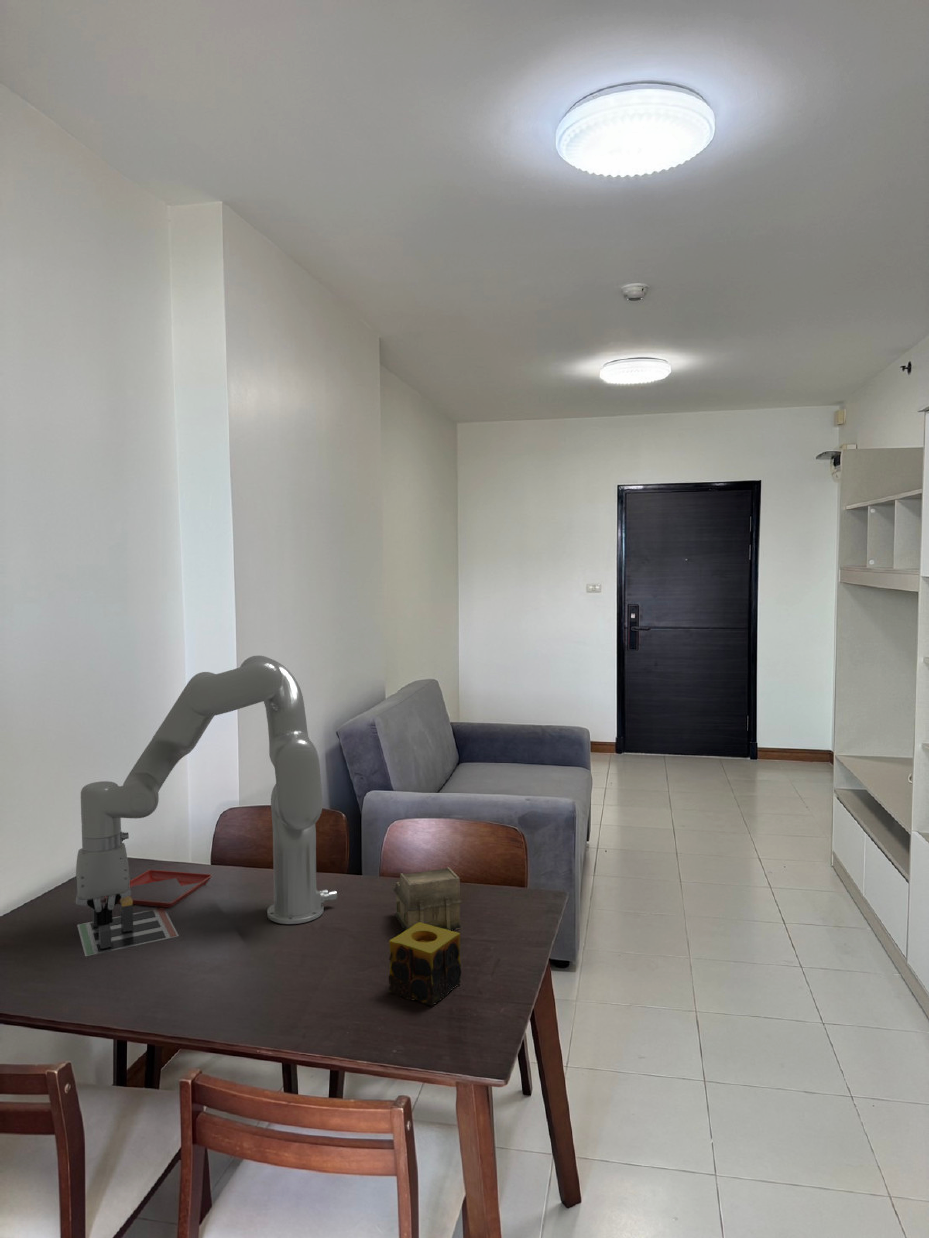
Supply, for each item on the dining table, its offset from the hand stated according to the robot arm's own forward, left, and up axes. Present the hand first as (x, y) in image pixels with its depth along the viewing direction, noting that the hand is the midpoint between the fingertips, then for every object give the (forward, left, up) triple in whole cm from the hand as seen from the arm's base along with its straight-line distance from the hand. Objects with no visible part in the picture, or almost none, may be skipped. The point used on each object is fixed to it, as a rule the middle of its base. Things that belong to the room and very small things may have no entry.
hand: (104, 926), depth 174 cm
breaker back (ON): (+1, -6, -2) cm, 6 cm away
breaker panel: (-4, 0, -3) cm, 5 cm away
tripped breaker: (-4, 0, -2) cm, 5 cm away
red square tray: (-14, -20, -4) cm, 25 cm away
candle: (-49, +51, -4) cm, 71 cm away
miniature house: (-64, +26, -4) cm, 69 cm away
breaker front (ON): (+1, +6, -2) cm, 6 cm away
